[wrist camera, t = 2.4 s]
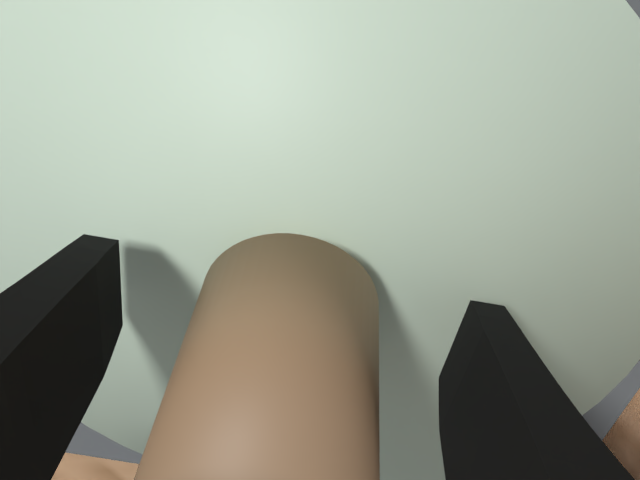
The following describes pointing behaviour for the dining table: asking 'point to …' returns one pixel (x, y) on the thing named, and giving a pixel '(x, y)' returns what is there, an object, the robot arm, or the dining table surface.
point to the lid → (325, 211)
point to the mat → (596, 417)
